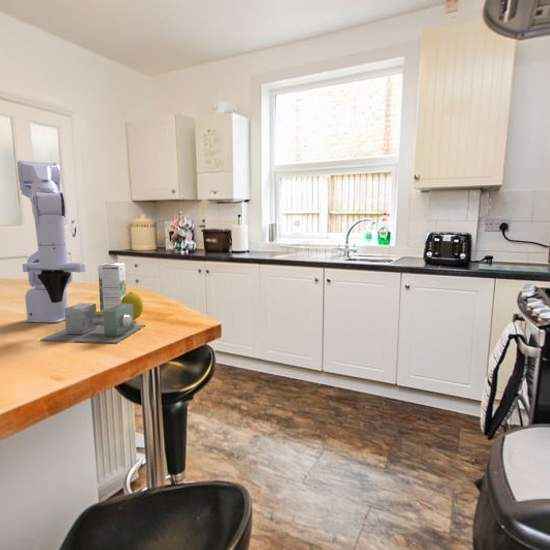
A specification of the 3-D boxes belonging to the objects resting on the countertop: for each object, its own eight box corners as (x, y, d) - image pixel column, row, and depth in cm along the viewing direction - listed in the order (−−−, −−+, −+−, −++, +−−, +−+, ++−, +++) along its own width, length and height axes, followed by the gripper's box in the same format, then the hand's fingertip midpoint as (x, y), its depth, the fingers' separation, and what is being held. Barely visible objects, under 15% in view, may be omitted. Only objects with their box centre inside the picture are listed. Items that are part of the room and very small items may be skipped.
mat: (40, 340, 85) (40, 339, 85) (79, 324, 99) (79, 322, 99) (116, 343, 83) (116, 342, 83) (145, 326, 97) (145, 324, 97)
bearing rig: (86, 338, 87) (84, 310, 86) (105, 328, 95) (103, 303, 94) (121, 339, 86) (119, 311, 85) (138, 329, 94) (136, 303, 93)
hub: (66, 333, 88) (64, 308, 88) (82, 326, 94) (80, 303, 94) (82, 334, 88) (80, 309, 87) (97, 327, 94) (95, 303, 93)
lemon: (136, 324, 98) (134, 294, 97) (116, 323, 99) (115, 293, 98) (147, 319, 103) (146, 290, 102) (129, 318, 105) (127, 289, 103)
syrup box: (107, 311, 113) (104, 262, 111) (127, 310, 113) (125, 262, 111) (100, 316, 107) (96, 264, 105) (121, 315, 108) (118, 264, 106)
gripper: (10, 245, 86) (15, 304, 88) (70, 246, 84) (74, 306, 86) (33, 244, 93) (38, 298, 95) (88, 244, 91) (92, 299, 93)
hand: (56, 301), depth 91 cm, fingers closed
